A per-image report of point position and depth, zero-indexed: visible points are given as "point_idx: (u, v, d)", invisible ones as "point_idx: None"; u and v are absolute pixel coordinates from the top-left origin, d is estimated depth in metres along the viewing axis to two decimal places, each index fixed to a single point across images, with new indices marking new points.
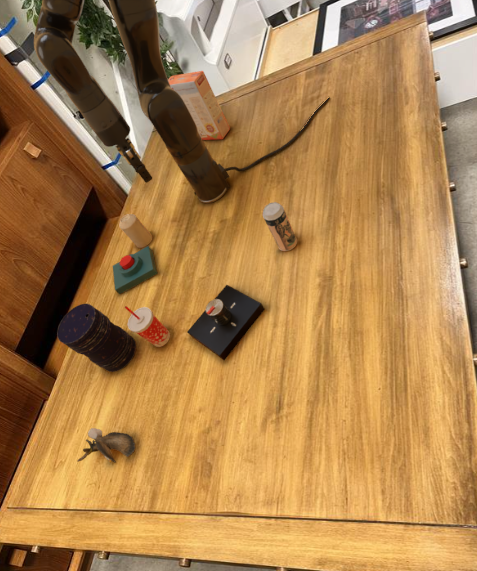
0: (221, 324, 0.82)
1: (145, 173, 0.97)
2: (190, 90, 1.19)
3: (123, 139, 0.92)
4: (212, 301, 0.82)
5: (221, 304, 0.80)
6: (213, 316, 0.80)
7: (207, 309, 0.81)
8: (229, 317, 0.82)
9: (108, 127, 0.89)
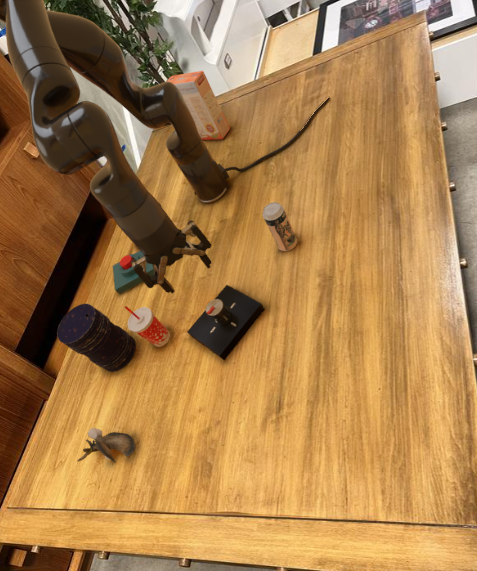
0: (221, 324, 0.82)
1: None
2: (190, 90, 1.19)
3: (142, 252, 0.68)
4: (212, 301, 0.82)
5: (221, 304, 0.80)
6: (213, 316, 0.80)
7: (207, 309, 0.81)
8: (229, 317, 0.82)
9: None
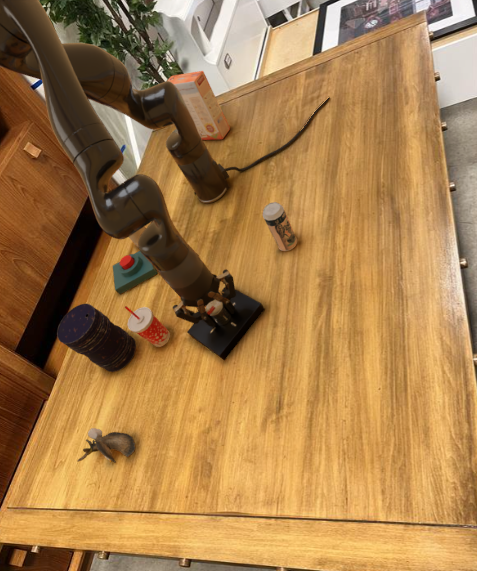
0: (221, 324, 0.82)
1: (205, 321, 0.81)
2: (190, 90, 1.19)
3: None
4: (212, 301, 0.82)
5: (221, 304, 0.80)
6: (213, 316, 0.80)
7: (207, 309, 0.81)
8: (229, 317, 0.82)
9: None
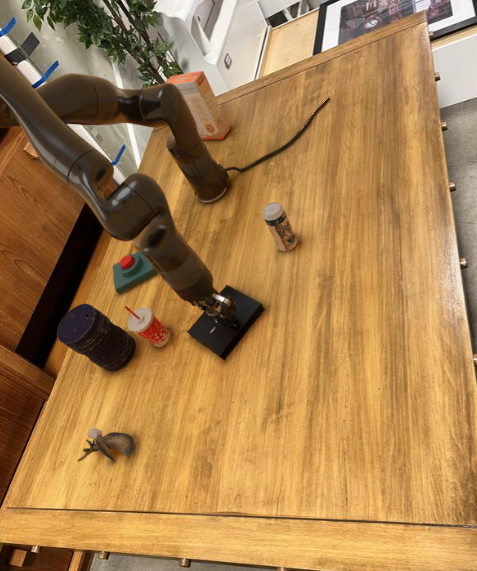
0: None
1: (232, 316, 0.80)
2: (190, 90, 1.19)
3: (211, 286, 0.72)
4: (209, 313, 0.80)
5: None
6: None
7: None
8: None
9: (198, 278, 0.69)
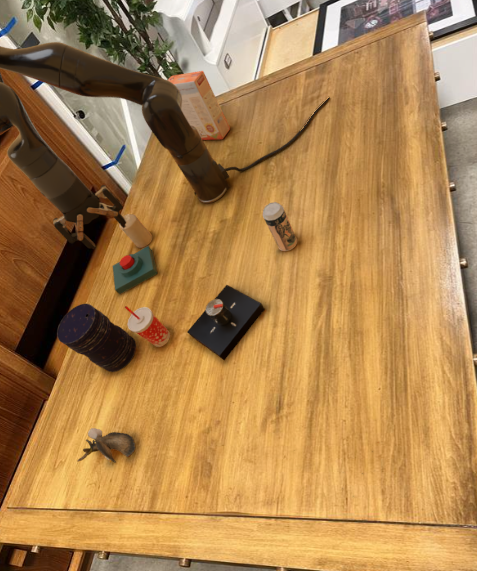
0: None
1: (120, 214, 0.89)
2: (190, 90, 1.19)
3: None
4: (209, 313, 0.80)
5: (209, 302, 0.82)
6: (222, 302, 0.81)
7: (218, 310, 0.80)
8: None
9: (75, 175, 0.79)
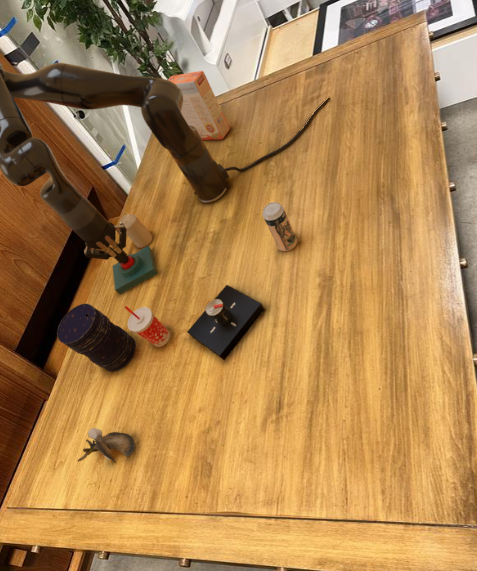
0: None
1: (123, 251, 1.03)
2: (190, 90, 1.19)
3: (105, 219, 0.96)
4: (209, 313, 0.80)
5: (209, 302, 0.82)
6: (222, 302, 0.81)
7: (218, 310, 0.80)
8: None
9: (96, 209, 0.92)
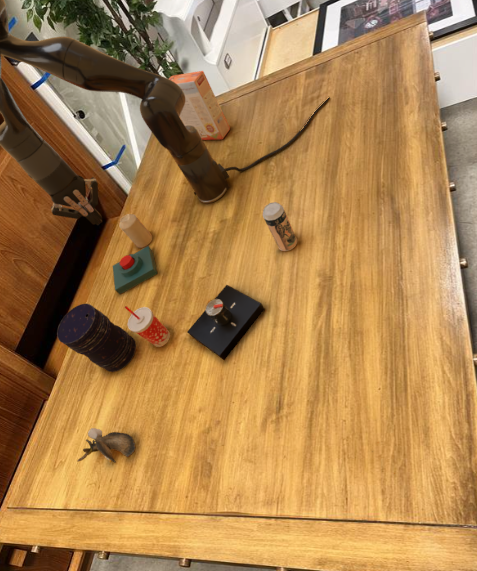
0: None
1: (96, 210, 0.94)
2: (190, 90, 1.19)
3: None
4: (209, 313, 0.80)
5: (209, 302, 0.82)
6: (222, 302, 0.81)
7: (218, 310, 0.80)
8: None
9: (61, 158, 0.83)
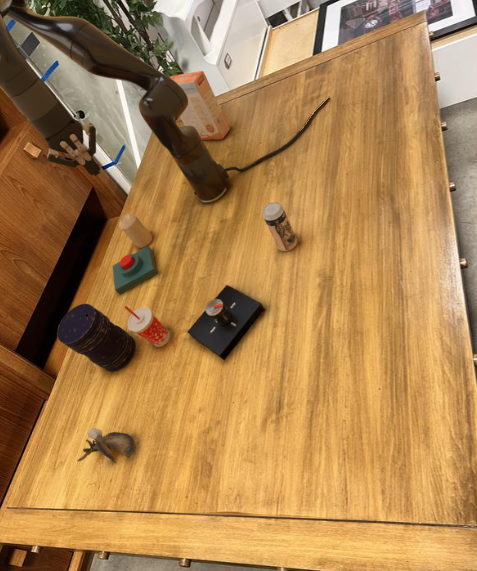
0: None
1: (94, 160, 0.90)
2: (190, 90, 1.19)
3: None
4: (209, 313, 0.80)
5: (209, 302, 0.82)
6: (222, 302, 0.81)
7: (218, 310, 0.80)
8: None
9: (57, 98, 0.79)
